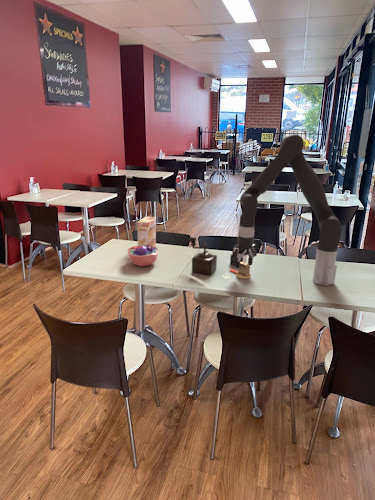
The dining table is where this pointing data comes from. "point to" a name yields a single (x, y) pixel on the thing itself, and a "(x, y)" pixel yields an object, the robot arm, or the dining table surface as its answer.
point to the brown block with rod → (242, 271)
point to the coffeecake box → (147, 231)
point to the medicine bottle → (243, 259)
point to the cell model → (143, 255)
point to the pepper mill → (203, 260)
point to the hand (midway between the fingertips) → (243, 266)
